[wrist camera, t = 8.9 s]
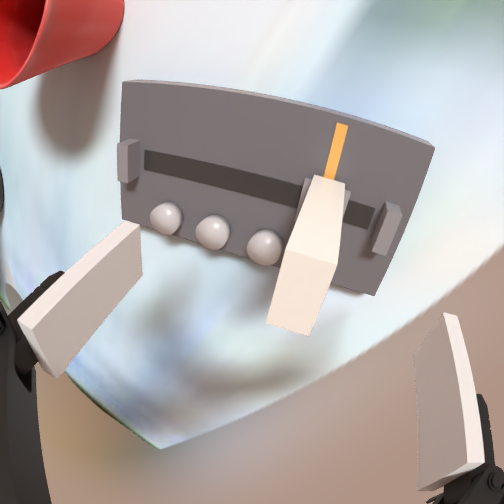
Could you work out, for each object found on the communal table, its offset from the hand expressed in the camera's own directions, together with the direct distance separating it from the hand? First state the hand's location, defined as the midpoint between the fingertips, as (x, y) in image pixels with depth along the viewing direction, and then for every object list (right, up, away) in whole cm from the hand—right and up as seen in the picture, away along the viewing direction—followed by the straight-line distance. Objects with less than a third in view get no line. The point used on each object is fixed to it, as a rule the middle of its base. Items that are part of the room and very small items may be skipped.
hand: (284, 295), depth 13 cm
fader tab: (+3, +5, +8) cm, 10 cm away
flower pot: (-15, +22, +7) cm, 27 cm away
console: (-1, +7, +11) cm, 13 cm away
